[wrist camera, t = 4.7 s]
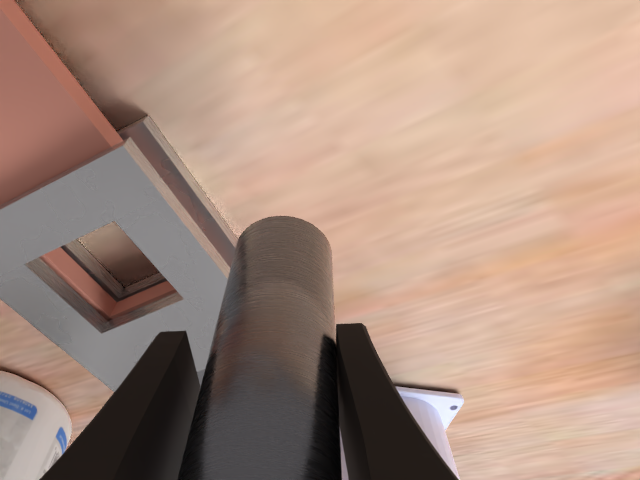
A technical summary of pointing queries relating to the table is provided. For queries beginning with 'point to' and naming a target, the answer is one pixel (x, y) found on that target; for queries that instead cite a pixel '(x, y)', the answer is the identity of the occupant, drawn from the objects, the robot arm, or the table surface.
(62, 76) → the link arm
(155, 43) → the table surface
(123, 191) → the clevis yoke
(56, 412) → the supplement tub
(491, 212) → the table surface
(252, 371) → the pin
